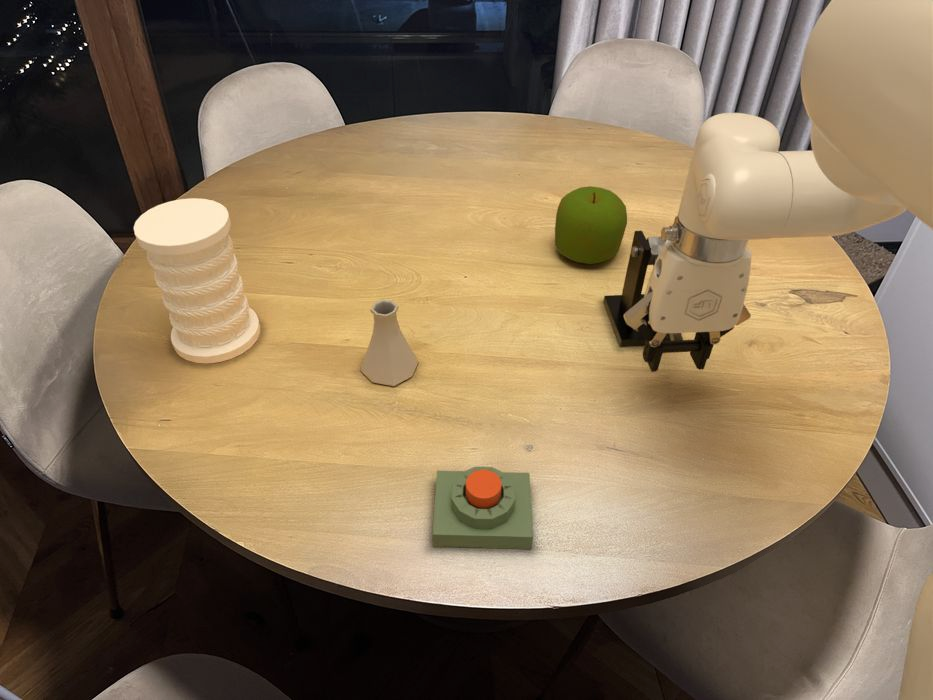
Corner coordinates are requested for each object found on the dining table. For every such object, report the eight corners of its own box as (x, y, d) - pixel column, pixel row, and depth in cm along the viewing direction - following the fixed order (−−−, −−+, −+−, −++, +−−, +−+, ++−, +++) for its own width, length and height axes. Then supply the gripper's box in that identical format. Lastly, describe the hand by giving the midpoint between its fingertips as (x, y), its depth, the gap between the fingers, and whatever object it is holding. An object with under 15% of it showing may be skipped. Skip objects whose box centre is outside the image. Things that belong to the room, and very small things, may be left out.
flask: (428, 361, 89) (426, 301, 83) (395, 394, 85) (390, 333, 78) (384, 342, 92) (378, 282, 85) (350, 373, 87) (341, 312, 81)
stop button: (500, 480, 70) (501, 469, 69) (501, 509, 68) (501, 498, 67) (466, 479, 70) (466, 468, 69) (465, 508, 68) (465, 497, 67)
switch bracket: (677, 344, 92) (701, 260, 83) (619, 346, 92) (638, 262, 83) (656, 299, 100) (676, 217, 91) (603, 301, 99) (618, 219, 90)
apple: (618, 276, 104) (631, 214, 97) (548, 267, 106) (555, 206, 98) (621, 238, 112) (632, 178, 105) (556, 230, 114) (563, 171, 107)
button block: (527, 485, 74) (530, 461, 72) (531, 549, 68) (534, 526, 66) (437, 482, 75) (436, 459, 72) (432, 546, 69) (431, 524, 66)
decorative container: (220, 374, 87) (182, 257, 75) (154, 347, 91) (108, 231, 79) (277, 323, 95) (251, 210, 83) (214, 300, 99) (180, 188, 87)
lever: (696, 355, 82) (703, 346, 80) (656, 356, 82) (662, 347, 80) (669, 247, 90) (674, 236, 88) (632, 248, 89) (637, 237, 87)
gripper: (640, 258, 68) (612, 387, 80) (804, 252, 69) (752, 380, 81) (621, 220, 73) (598, 346, 86) (773, 215, 75) (729, 340, 87)
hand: (673, 361), depth 83 cm, fingers closed on lever, 5 cm apart
